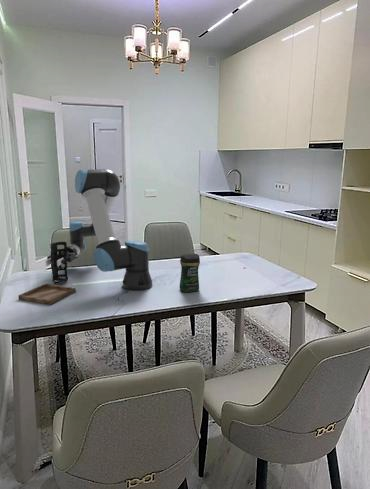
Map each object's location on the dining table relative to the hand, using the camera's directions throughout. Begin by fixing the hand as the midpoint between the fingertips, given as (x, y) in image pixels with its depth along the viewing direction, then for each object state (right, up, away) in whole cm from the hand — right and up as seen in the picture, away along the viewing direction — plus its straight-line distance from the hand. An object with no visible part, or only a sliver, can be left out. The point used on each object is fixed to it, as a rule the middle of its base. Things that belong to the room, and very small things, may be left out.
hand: (52, 263), depth 186 cm
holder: (+1, -9, +7) cm, 12 cm away
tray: (+2, -15, -11) cm, 18 cm away
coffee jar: (+69, -14, -1) cm, 70 cm away
